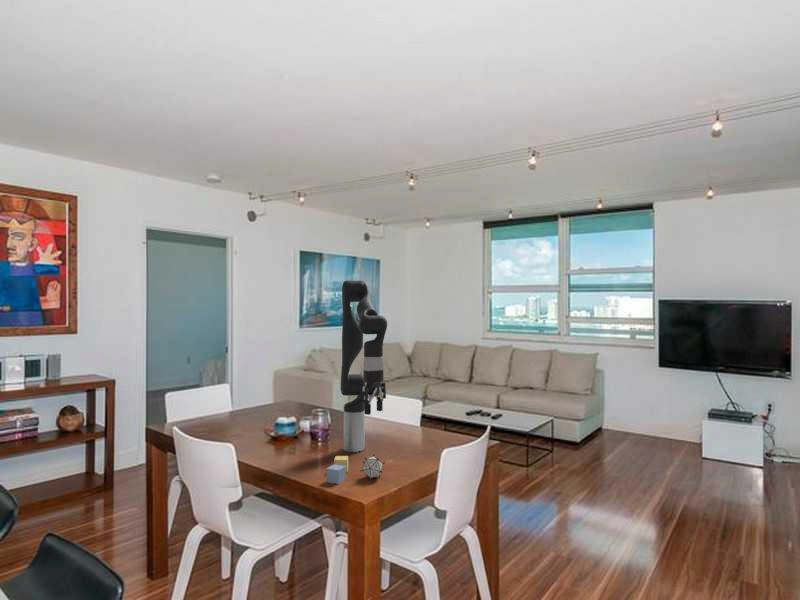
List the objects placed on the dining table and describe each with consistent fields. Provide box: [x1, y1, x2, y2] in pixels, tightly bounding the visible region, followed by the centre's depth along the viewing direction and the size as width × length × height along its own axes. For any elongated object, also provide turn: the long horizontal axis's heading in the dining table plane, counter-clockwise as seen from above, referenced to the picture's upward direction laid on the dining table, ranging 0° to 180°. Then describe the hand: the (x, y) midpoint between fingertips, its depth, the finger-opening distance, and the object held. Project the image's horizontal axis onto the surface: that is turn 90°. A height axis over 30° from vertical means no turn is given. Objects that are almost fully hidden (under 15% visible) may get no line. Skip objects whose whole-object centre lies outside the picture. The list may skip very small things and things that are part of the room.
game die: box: [359, 454, 386, 481], centre depth 183 cm, size 9×8×10 cm
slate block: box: [326, 464, 347, 485], centre depth 180 cm, size 5×5×5 cm
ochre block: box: [333, 455, 349, 473], centre depth 191 cm, size 5×5×5 cm
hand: (373, 412), depth 184 cm, fingers open, 8 cm apart
